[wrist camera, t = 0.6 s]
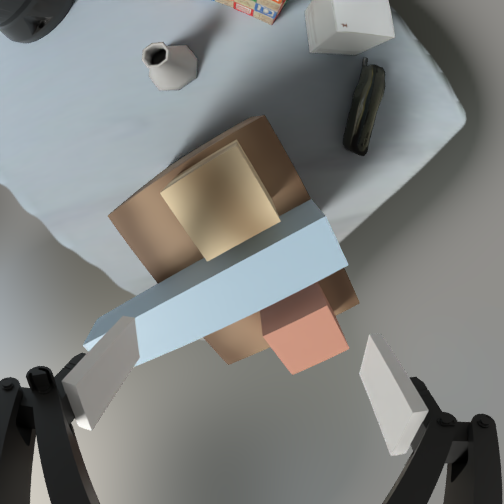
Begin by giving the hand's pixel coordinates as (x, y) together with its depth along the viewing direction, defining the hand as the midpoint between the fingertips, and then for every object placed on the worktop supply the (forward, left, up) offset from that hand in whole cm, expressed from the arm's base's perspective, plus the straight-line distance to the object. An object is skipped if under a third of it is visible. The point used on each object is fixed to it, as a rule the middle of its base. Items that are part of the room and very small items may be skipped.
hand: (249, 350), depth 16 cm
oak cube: (-6, -4, -9) cm, 12 cm away
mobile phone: (-20, +11, -32) cm, 39 cm away
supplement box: (-28, +4, -32) cm, 43 cm away
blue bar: (+3, -3, -9) cm, 10 cm away
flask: (-15, -15, -32) cm, 38 cm away
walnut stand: (0, 0, -31) cm, 31 cm away
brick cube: (+2, +5, -9) cm, 11 cm away
